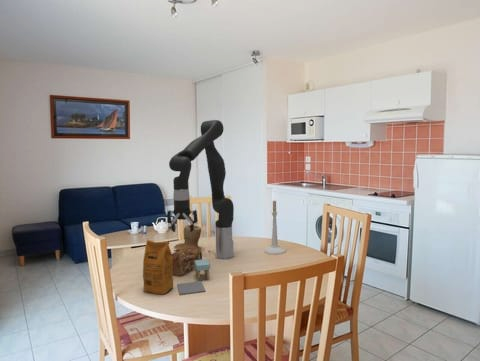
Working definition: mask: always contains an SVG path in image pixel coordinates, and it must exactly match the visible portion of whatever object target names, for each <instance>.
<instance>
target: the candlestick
mask: <svg viewBox="0 0 480 361" xmlns="http://www.w3.org/2000/svg"><path fill="white" fill-rule="evenodd" d="M278 213H279V212H278V211H277V200H272V211H271V214H272V228H271V229H272V231H271V232H272V234H271V245H268V246H266V247H264V249H263V253H265V254H268V255H274V256H276V255H283V254H285V253H286V252H287V250H286V248H285V247H284V246H280V245H279V243H278V242H279V241H278V240H279V239H278V226H277V224H278V223H277V216H278Z"/></svg>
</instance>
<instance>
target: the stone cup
mask: <svg viewBox="0 0 480 361" xmlns="http://www.w3.org/2000/svg"><path fill="white" fill-rule="evenodd" d="M201 234H202V228H201V227H200V226H198V225H194V230H193V232H190V224H187V225H185V226H184V227H183V239H184V242H183V243H177V244H175V245H174V246H173V249H175V250H177V251H179V250H181V249H186V248H195V249H198V250H200V251H201V250H202V247H200V246H199V240H200V238H201Z"/></svg>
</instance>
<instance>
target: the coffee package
mask: <svg viewBox="0 0 480 361" xmlns="http://www.w3.org/2000/svg"><path fill="white" fill-rule="evenodd" d="M142 261H143V263H142V265H143V267H142V279H143V292H145V293H146V292H147V293H151V294H153V295H165V294H167V293H168V292H169V291H170V290H171V289H172V288H174V275H173V263H172V261H173V257H172V251H171V248H170V242H169V240H167V241H153V240H151V239H147V240H146V243H145V248H144V255H143V260H142Z"/></svg>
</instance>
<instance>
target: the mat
mask: <svg viewBox="0 0 480 361" xmlns="http://www.w3.org/2000/svg"><path fill="white" fill-rule="evenodd" d="M176 286H177V290H178V294H179V296H182V295H184V296H185V295H190V294H198V293H200V294H201V293H206V287H205V286H204V283H203V282H202V280H200V281H198V280H197V281H189V282H182V283H177V284H176Z"/></svg>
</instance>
